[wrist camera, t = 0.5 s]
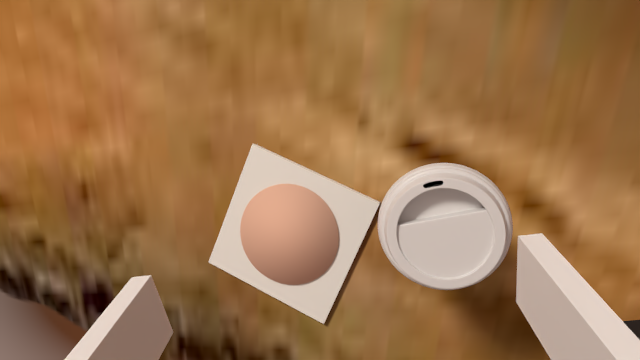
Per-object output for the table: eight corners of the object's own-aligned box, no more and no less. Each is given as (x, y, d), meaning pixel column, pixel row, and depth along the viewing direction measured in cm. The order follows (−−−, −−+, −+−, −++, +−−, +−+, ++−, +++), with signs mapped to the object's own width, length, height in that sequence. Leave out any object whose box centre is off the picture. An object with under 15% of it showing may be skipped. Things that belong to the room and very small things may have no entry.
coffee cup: (492, 160, 40) (534, 179, 25) (473, 249, 41) (502, 315, 27) (398, 145, 42) (387, 155, 27) (383, 230, 43) (364, 282, 29)
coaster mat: (380, 202, 43) (379, 203, 42) (324, 321, 46) (323, 324, 46) (254, 143, 46) (251, 143, 45) (211, 260, 49) (207, 262, 48)
